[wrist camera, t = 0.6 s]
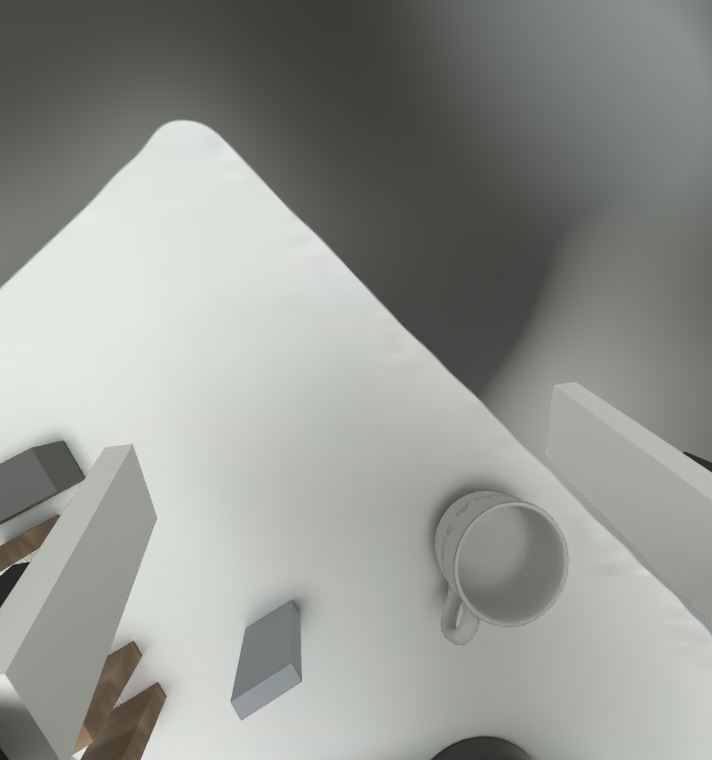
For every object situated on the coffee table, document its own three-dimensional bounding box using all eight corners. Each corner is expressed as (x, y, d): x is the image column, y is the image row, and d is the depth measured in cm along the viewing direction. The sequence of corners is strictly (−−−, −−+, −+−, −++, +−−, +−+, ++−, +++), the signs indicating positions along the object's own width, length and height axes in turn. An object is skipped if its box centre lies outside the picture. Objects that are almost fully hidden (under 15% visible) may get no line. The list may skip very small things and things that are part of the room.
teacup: (477, 461, 46) (516, 476, 38) (545, 534, 46) (596, 564, 39) (381, 559, 44) (401, 596, 36) (453, 633, 45) (487, 685, 37)
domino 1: (68, 529, 40) (-7, 575, 30) (14, 559, 39) (-80, 616, 29) (59, 514, 40) (-19, 555, 30) (5, 543, 39) (-92, 595, 29)
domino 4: (300, 614, 43) (301, 681, 33) (253, 642, 42) (241, 720, 32) (292, 599, 43) (291, 663, 33) (245, 628, 42) (230, 702, 32)
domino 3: (166, 696, 41) (125, 794, 31) (115, 728, 40) (57, 838, 30) (157, 682, 41) (114, 775, 31) (107, 713, 40) (45, 819, 30)
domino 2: (142, 655, 41) (93, 741, 31) (90, 686, 40) (24, 784, 30) (133, 641, 41) (82, 722, 31) (82, 671, 40) (12, 765, 30)
